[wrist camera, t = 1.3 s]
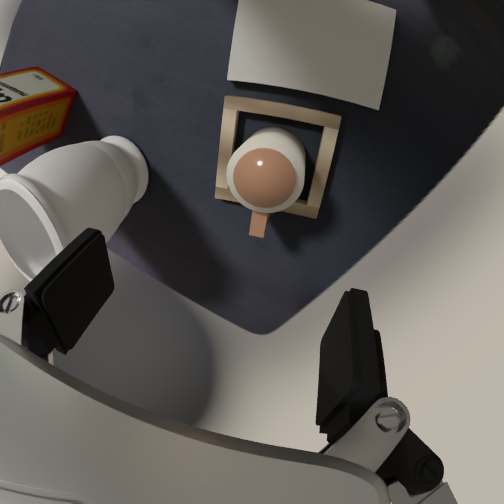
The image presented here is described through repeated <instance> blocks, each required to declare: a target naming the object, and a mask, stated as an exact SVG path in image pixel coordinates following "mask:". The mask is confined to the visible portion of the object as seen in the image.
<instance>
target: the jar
mask: <svg viewBox="0 0 504 504" xmlns="http://www.w3.org/2000/svg"><path fill="white" fill-rule="evenodd" d="M147 185H148V168H147V164H146V161H145V159H144V157H143V155H142V153H141V152H140V150H139V149H138V148H137V147H136V146H135V145H134V144H133V143H132V142H131V141H129V140H128V139H126V138H123V137H120V136H108V137H105V138H103V139H101V140H100V141H86V142H81V143H78V144H71V145H67V146H63V147H59V148H56V149H54V150H51V151H49V152H47V153H45V154H43V155H41V156H39V157H38V158H36V159H35V160H33V161H32V162H30V163H29V164H28V165H26V166H25V167H24V168H23V169H22V170H21V171H20V172H19V173H18V174H7V175H5V176H3V177H2V178H0V242H1V244H2V246H3V248H4V250H5V252H6V253H7V255H8V257H9V258H10V259H11V261H12V262H13V264H14V265H15V266H16V267H17V269H19V271H20V272H21V273H22V274H23V275H24V276H25V277H26V278H27V279H28V280H30V281H32V280H33V279H34V278H35V277H36V276H37V275H38V274H39V272H40V271H41V270H42V269H43V268H44V267H45V266H46V265H47V264H48V263H49V262H51V261H52V260H53V259H54V258H55V257H56V256H57V255H58V254H59V253H60V252H61V251H62V250H63V249H64V248H65V247H66V246H67V245H68V244H70V243H71V242H72V241H73V240H74V239H75V238H76V237H77V236H78V235H79V234H81V233H82V232H83V231H84V230H85V229H87V228H93V229H97V230H100V231H101V232H102V234H103V235H104V237H105V241H106V243H107V242H108V240H109V239H110V238H111V237H112V235H113V234H114V233H115V231H116V230H117V228H118V227H119V225H120V223H121V222H122V221H123V220H124V218H125V217H126V216H127V214H128V213H129V211H130V209H131V207H132V205H133V204H134V203H135V202H137V201H138V200H140V199H141V197H142V196H143V195H144V193H145V191H146V189H147Z"/></svg>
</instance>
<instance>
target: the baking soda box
mask: <svg viewBox="0 0 504 504" xmlns="http://www.w3.org/2000/svg"><path fill="white" fill-rule="evenodd" d="M76 93H77V90H75V89H74V88H72V87H71V86H69V85H67V84H66V83H64V82H63V81H61V80H59V79H58V78H56V77H54V76H53V75H51V74H49V73H48V72H46V71H44V70H43V69H41V68H39V67H38V66H37V67H31V68H26V69H21V70H16V71H12V72H7V73H3V74H0V166H2V165H3V164H5V163H7V162H9V161H11V160H13V159H15V158H17V157H19V156H21V155H23V154H25V153H27V152H29V151H31V150H33V149H35V148H37V147H39V146H41V145H44V144H46V143H48V142H50V141H53V140H55V139H57V138H60V137H62V135H63V132H64V128H65V125H66V122H67V119H68V116H69V113H70V110H71V107H72V104H73V101H74V98H75V95H76Z"/></svg>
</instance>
